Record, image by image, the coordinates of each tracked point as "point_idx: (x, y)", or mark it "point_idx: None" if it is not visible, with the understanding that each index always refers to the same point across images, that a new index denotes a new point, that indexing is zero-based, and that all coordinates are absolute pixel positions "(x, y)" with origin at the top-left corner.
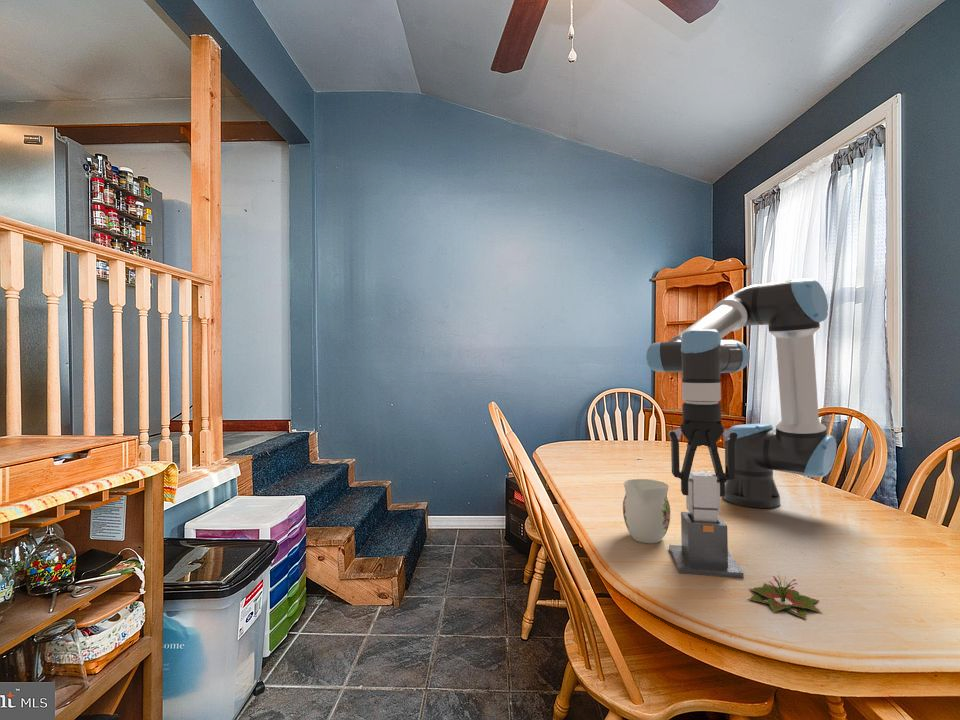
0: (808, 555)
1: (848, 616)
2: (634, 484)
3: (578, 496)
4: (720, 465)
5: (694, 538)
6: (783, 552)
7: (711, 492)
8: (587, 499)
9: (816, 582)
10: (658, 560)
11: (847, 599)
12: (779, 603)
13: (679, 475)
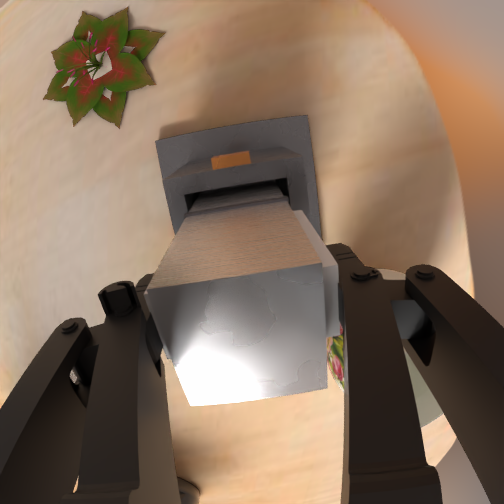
0: (50, 310)
1: (21, 67)
2: (427, 408)
3: (440, 432)
4: (101, 376)
5: (274, 154)
6: (84, 312)
7: (199, 237)
8: (430, 428)
9: (37, 184)
10: (349, 175)
11: (8, 133)
12: (108, 49)
13: (406, 276)
